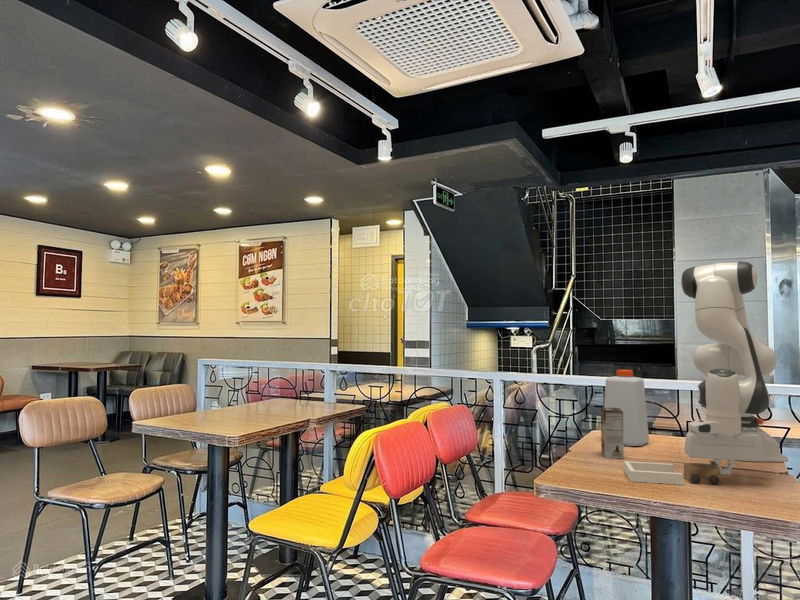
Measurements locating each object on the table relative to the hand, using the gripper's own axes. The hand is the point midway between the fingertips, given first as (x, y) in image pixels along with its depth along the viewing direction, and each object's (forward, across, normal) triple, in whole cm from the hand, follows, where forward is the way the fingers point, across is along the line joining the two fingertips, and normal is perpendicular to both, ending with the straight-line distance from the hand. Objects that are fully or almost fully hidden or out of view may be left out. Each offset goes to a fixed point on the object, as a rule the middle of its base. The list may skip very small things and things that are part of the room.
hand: (724, 474), depth 163 cm
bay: (+2, +19, 0) cm, 19 cm away
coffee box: (+2, +27, -28) cm, 39 cm away
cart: (+2, +6, 0) cm, 6 cm away
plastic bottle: (+2, +18, -54) cm, 57 cm away
